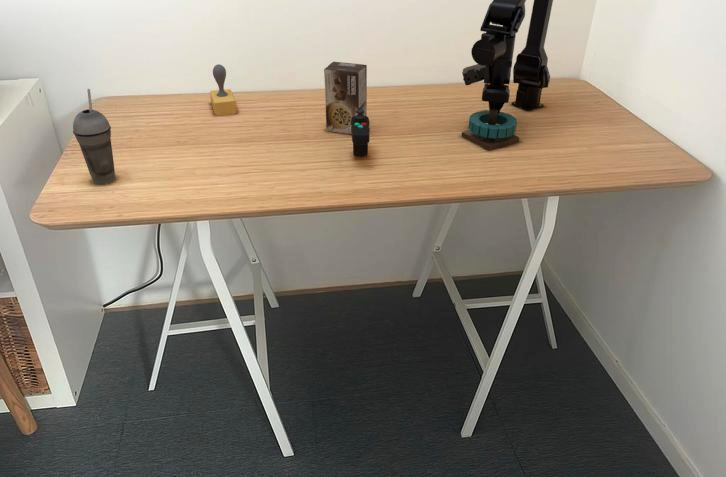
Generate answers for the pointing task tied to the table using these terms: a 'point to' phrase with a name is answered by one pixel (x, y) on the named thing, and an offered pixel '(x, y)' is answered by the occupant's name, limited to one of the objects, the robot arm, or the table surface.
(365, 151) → the controller
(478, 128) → the hoop
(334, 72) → the coffee box
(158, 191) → the table surface
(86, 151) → the beverage cup
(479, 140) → the stand
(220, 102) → the rubber stamp
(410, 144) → the table surface
